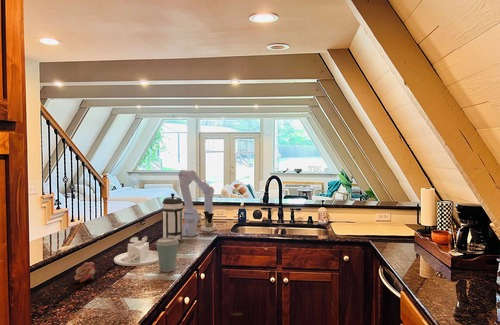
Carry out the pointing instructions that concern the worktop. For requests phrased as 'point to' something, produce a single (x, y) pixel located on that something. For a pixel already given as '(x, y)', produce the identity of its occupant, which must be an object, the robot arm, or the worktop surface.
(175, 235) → the coffee press
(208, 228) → the ceramic plinth
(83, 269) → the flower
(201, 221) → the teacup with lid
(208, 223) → the brass cube
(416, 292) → the worktop surface
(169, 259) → the disposable coffee cup
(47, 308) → the worktop surface
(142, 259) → the dish
